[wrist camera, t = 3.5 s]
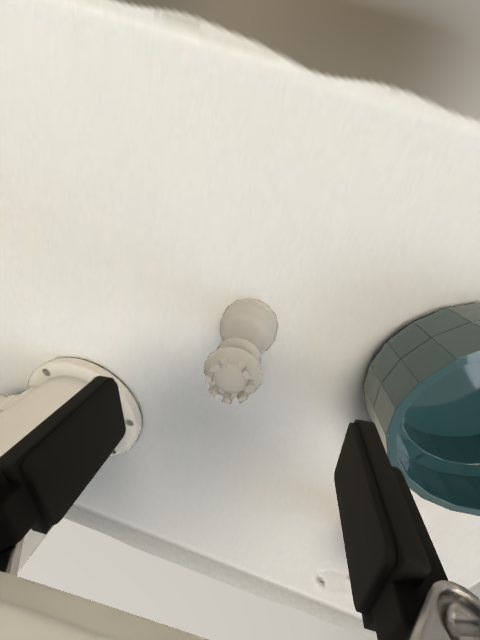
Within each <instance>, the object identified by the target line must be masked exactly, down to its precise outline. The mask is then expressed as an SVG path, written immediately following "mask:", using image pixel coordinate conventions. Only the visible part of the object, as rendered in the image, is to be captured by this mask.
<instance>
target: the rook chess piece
mask: <svg viewBox="0 0 480 640" xmlns="http://www.w3.org/2000/svg"><path fill="white" fill-rule="evenodd" d="M277 329H278V323H277V319H276V315H275V314H274V312H273V311H272V310H271V308H270V307H269V306H268V305H266V304H265V303H263V302H261V301H260V300H255V299H250V298H246V299H241V300H237V301H235V302H234V303H232V304H231V305H230V306H228V308H227V309H226V311H225V313H224V314H223V317H222V319H221V325H220V333H221V336H222V340H223V342H222V343H220V345H219V346H218V348H217V349H216V351H214V352H212V353H211V354H210V355H209V356H208V358H207V360H206V361H205V366H204V373H205V376H206V381H205V383H209V384H210V387H209V390H208V391H209V392H210V393H211V394H212V396H213V397H215V396H216V395H217V394H218V393H219V394H221V395H223V396H224V397H223V400H222V402H224V403H229V404H231V402H232V398H237V399H238V401H239V403H241V402H243V401H245V400H247V398H248V395H250V394H252V393H254V392H255V391H256V390H257V389H258V387H259V386H260V385H261V381H262V377H263V373H262V370H261V366H260V364H261V357H260V354H261V353H263V352H265V351H267V350H268V349H269V347H270V346H271V345H272V343H273V342H274V341H275V336H276V333H277Z"/></svg>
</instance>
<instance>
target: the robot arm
mask: <svg viewBox="0 0 480 640" xmlns="http://www.w3.org/2000/svg"><path fill="white" fill-rule="evenodd" d="M141 426H142V421H141V414H140V410H139V407H138V405H137V403H136V401H135V399H134V397H133V396H132V394H131V393H130V392H129V390H128V389H127V388H126V386H125V385H124V384H123V383H122V382H121V381H120V380H119V379H118V378H116V377H115V376H114V375H112V374H111V373H110V372H108V371H107V370H105V369H103V368H101V367H100V366H98V365H96V364H93V363H91V362H88V361H85V360H81V359H77V358H66V357H64V358H57V359H53V360H51V361H48V362H46V363H45V364H43V365H42V366H40V367H39V368H37V369H36V370H35V371H34V372H33V373H32V374H31V376H30V379H29V381H28V387H27V390H26V391H24V392H23V393H21V394H13V395H11V396H9V397H8V396H5V395H2V394H0V640H208V639H205V638H202V637H199V636H196V635H193V634H190V633H187V632H185V631H182V630H178V629H175V628H173V627H169V626H167V625H164V624H160V623H157V622H155V621H151V620H149V619H145V618H142V617H139V616H136V615H133V614H130V613H127V612H124V611H121V610H118V609H115V608H112V607H109V606H106V605H103V604H100V603H97V602H94V601H91V600H88V599H85V598H82V597H79V596H76V595H73V594H70V593H67V592H64V591H60V590H57V589H54V588H51V587H48V586H45V585H42V584H39V583H36V582H33V581H30V580H26V579H24V578H21V577H17V573H18V572H19V570H20V569H21V568H22V567H23V565H24V564H25V563H26V562H27V560H28V559H29V557H30V556H31V555H32V554H33V552H34V551H35V550H36V548H37V547H38V546H39V544H40V543H41V542H42V540H43V539H44V538H45V536H46V535H47V534H48V532H49V531H50V530H51V528H52V527H53V526H54V525H55V524H57V523H58V522H59V521H60V520H61V519H62V518H63V517H64V515H65V514H66V513H67V511H68V510H69V509H70V507H71V506H72V505H73V503H74V502H75V501H76V499H77V498H78V497H79V495H80V494H81V493H82V491H83V490H84V489H85V487H86V486H87V485H88V484H89V482H90V481H91V480H92V478H93V477H94V476H95V474H96V473H97V472H98V470H99V469H100V468H101V466H102V465H103V464H104V462H105V461H106V460H107V458H108V457H111V456H116V455H120V454H122V453H124V452H126V451H127V450H128V449H129V448H131V447H132V445H133V444H134V442H135V441H136V440H137V438H138V436H139V434H140V432H141ZM334 480H335V487H336V494H337V500H338V506H339V513H340V519H341V525H342V532H343V538H344V544H345V551H346V557H347V563H348V570H349V576H350V582H351V588H352V595H353V601H354V605H355V609H356V611H357V612H360V613H362V618H363V624H364V628H365V629H369V630H372V631H376V633H377V638H378V640H480V599H479V598H478V597H477V596H475V595H474V594H473V593H471V592H470V591H469V590H467V589H466V588H465V587H463V586H460V585H458V584H456V583H454V582H451V581H448V579H447V576H446V574H445V572H444V569H443V567H442V564H441V562H440V560H439V557H438V555H437V553H436V550H435V548H434V546H433V543H432V541H431V539H430V536H429V534H428V532H427V529H426V527H425V525H424V522H423V520H422V517H421V515H420V513H419V510H418V508H417V506H416V503H415V501H414V499H413V496H412V494H411V492H410V489H409V487H408V485H407V482H406V480H405V478H404V475H403V473H402V472H401V470H400V469H399V468H398V467H395V466H391V463H390V461H389V458H388V456H387V453H386V451H385V448H384V445H383V443H382V440H381V438H380V435H379V433H378V430H377V428H376V425H375V423H373V422H369V421H363V420H355V422H354V423H349V426H348V429H347V432H346V436H345V439H344V442H343V446H342V449H341V452H340V456H339V459H338V462H337V466H336V469H335V474H334Z"/></svg>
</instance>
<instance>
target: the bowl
mask: <svg viewBox="0 0 480 640" xmlns="http://www.w3.org/2000/svg"><path fill="white" fill-rule="evenodd" d="M364 393H365V402H366V408H367V410H368V413H369V415H370V418H371V420H372V422H373V423H375V425H376V428H377V430H378V433H379V435H380V438H381V440H382V443H383V445H384V448H385V451H386V453H387V456H388V458H389V461H390V463H391V466H395V467H398V468H399V469H400V470H401V472H402V473H403V475H404V478H405V480H406V482H407V485H408V487H409V488H410V489H411V490H413V491H414V492H415V493H416V494H418V495H419V496H420V497H421V498H423V499H425V500H428V501H430V502H432V503H435V504H437V505H440V506H442V507H444V508H447V509H449V510H452V511H456V512H462V513H467V514H472V515H477V516H480V302H478V303H472V304H466V305H460V306H454V307H448V308H445V309H443V310H440V311H438V312H435V313H433V314H431V315H428V316H426V317H424V318H421V319H419V320H416V321H414V322H413V323H411V324H409V325H408V326H407V327H405V328H404V329H403V330H401V331H400V332H399V333H397V334H396V335H395V336H394V337H392V338H391V339H390V340H388V341H387V342H386V343H385V345H384V346H383V347H382V349H381V350H380V351H379V353H378V354H377V355H376V357H375V358H374V360H373V361H372V362H371V364H370V366H369V370H368V373H367V377H366V380H365V383H364Z"/></svg>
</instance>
